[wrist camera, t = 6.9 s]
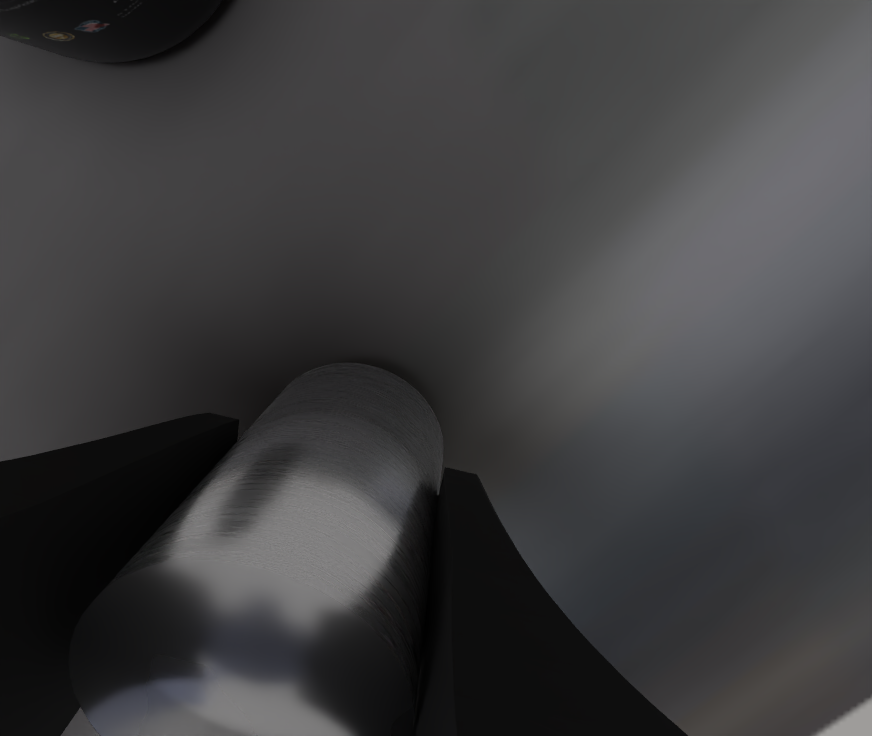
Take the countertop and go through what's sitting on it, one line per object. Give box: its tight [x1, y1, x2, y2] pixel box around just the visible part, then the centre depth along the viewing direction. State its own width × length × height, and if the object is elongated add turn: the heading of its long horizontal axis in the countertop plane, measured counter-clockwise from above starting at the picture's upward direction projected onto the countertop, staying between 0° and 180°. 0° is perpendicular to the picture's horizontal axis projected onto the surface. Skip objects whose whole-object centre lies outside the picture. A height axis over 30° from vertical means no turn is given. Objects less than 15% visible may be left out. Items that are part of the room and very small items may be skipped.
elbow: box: [69, 362, 444, 736], centre depth 9 cm, size 8×4×6 cm, turn 165°
